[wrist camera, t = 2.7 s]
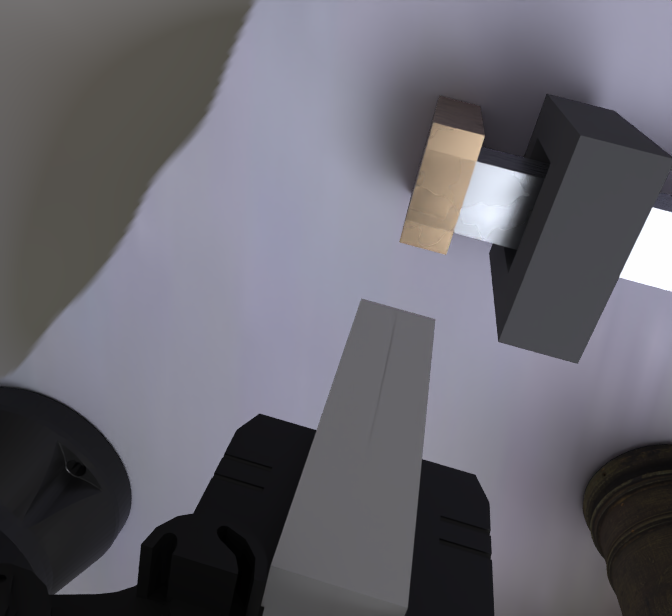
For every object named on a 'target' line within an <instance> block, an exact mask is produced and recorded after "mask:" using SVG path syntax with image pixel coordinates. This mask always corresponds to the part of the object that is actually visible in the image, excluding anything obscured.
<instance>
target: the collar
mask: <svg viewBox="0 0 672 616" xmlns="http://www.w3.org/2000/svg"><path fill="white" fill-rule="evenodd" d="M524 157H525V158H528V159H532V160H536V161H540V162H544V163H548V164H550V166H549V169H548V172H547V174H546V177H545V179H544V182H543V185H542V187H541V190H540V192H539V195H538V198H537V200H536V203H535V205H534V208H533V211H532V213H531V216H530V218H529V221H528V224H527V226H526V229H525V231H524V234H523V237H522V239H521V242H520V245H519V247H518V250H516V249H512V248H508V247H505V246H501V245H497V244H492V247H491V250H490V253H489V255H490V265H491V275H492V285H493V294H494V304H495V314H496V324H497V333H498V342H501V343H504V344H508V345H512V346H515V347H519V348H522V349H526V350H530V351H533V352H537V353H540V354H544V355H548V356H551V357H555V358H559V359H562V360H566V361H569V362H573V363H577V364H578V362H579V360H580V358H581V356H582V354H583V352H584V350H585V348H586V345H587V343H588V341H589V339H590V337H591V335H592V333H593V331H594V329H595V327H596V325H597V322H598V320H599V318H600V316H601V314H602V312H603V310H604V308H605V306H606V304H607V302H608V299H609V297H610V295H611V293H612V291H613V289H614V287H615V285H616V283H617V281H618V279H619V277H620V274H621V272H622V270H623V268H624V266H625V264H626V262H627V260H628V258H629V256H630V254H631V251H632V249H633V247H634V245H635V243H636V241H637V239H638V237H639V235H640V233H641V231H642V228H643V226H644V224H645V222H646V220H647V218H648V216H649V214H650V212H651V210H652V208H653V205H654V203H655V201H656V199H657V197H658V195H659V193H660V191H661V189H662V187H663V185H664V182H665V180H666V178H667V176H668V174H669V172H670V170H671V168H672V156H670V155H669V154H668V153H667V152H665V151H664V150H663V149H662V148H660V147H659V146H658V145H657V144H655V143H654V142H653V141H652V140H650V139H649V138H648V137H647V136H645V135H644V134H643V133H641V132H640V131H639V130H638V129H636V128H635V127H634V126H633V125H631V124H630V123H629V122H628V121H626V120H625V119H624V118H623V117H621V116H620V115H619V114H618V113H616V112H615V111H613V110H609V109H605V108H601V107H597V106H593V105H589V104H585V103H581V102H577V101H573V100H569V99H565V98H561V97H557V96H553V95H549V94H547V95H546V98H545V101H544V103H543V106H542V109H541V112H540V114H539V117H538V120H537V123H536V125H535V128H534V131H533V134H532V137H531V139H530V142H529V145H528V148H527V150H526V153H525V156H524Z"/></svg>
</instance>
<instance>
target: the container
mask: <svg viewBox="0 0 672 616" xmlns="http://www.w3.org/2000/svg"><path fill="white" fill-rule="evenodd" d="M583 512H584V517H585V520H586V523H587V526H588V528H589V530H590V531H591V536H592V539H593V542H594V544H595V546H596V548H597V550H598V551H599V553H600V554H601V556H602V557H603V558H604V559H605V561H606V564H607V576H608V579H609V582H610V585H611V587H612V588H613V590H614V592H615V594H616V595H617V599H618V602H619V605H620V608H621V611H622V615H623V616H672V445H654V446H647V447H643V448H639V449H636V450H633V451H630V452H627V453H624V454H622V455H620V456H619V457H617V458H615V459H613V460H612V461H610V462H609V463H607V464H606V465H605V466H603V467H602V468H601V469H600V470H599V471H598V472H597V473H596V474H595V475H594V476H593V477H592V479H591V480H590V482H589V484H588V486H587V488H586V491H585V495H584V501H583Z"/></svg>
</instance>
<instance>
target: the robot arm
mask: <svg viewBox="0 0 672 616" xmlns="http://www.w3.org/2000/svg"><path fill="white" fill-rule="evenodd" d="M434 327H435V319H433V318H429V317H425V316H422V315H418V314H415V313H411V312H408V311H404V310H400V309H397V308H393V307H390V306H386V305H383V304H379V303H375V302H372V301H368V300H365V299H361V301H360V304H359V307H358V310H357V313H356V316H355V319H354V322H353V325H352V328H351V331H350V334H349V337H348V340H347V342H346V345H345V348H344V351H343V354H342V357H341V360H340V363H339V366H338V369H337V372H336V375H335V378H334V381H333V384H332V387H331V390H330V393H329V395H328V398H327V401H326V404H325V407H324V410H323V413H322V416H321V419H320V422H319V425H318V428H317V430H314V429H310V428H307V427H303V426H300V425H297V424H293V423H290V422H286V421H283V420H280V419H276V418H273V417H269V416H266V415H263V414H258V415H257V416H256V417H254V418H253V419H251V420H250V421H249V422H247V423H246V424H244V425H243V426H242V427H240V428H239V429H237V431H236V432H235V434H234V436H233V438H232V440H231V442H230V444H229V446H228V448H227V450H226V452H225V454H224V457H223V458H222V459H221V461H220V463H219V465H218V467H217V469H216V471H215V473H214V476H213V478H212V479H211V480H210V482H209V484H208V486H207V488H206V490H205V492H204V494H203V496H202V498H201V500H200V502H199V504H198V505H197V507H196V509H195V511H194V513H193V514H188V515H182V516H177V517H175V518H173V519H171V520H169V521H167V522H165V523H164V524H162V525H160V526H158V527H156V528H155V529H154V531H153V532H152V533H151V534H150V535H149V536H148V537H147V538H146V540H145V541H144V542H143V543H142V544H141V551H140V562H139V573H138V583H137V585H136V586H134V587H131V588H128V589H125V590H121V591H118V592H113V593H104V594H76V595H54V594H55V593H57V592H58V591H59V590H60V589H62V588H63V587H64V586H65V585H67V584H68V583H69V582H70V581H72V580H73V579H74V578H75V577H77V576H78V575H79V574H80V573H82V572H83V571H84V570H85V569H87V568H88V567H89V566H90V565H92V564H93V563H94V562H95V561H97V560H98V559H99V558H100V557H101V556H103V555H104V554H105V552H106V551H107V550H108V549H109V548H110V547H111V545H112V544H113V542H114V540H115V539H116V537H117V536H118V534H119V533H120V531H121V529H122V528H123V526H124V525H125V523H126V521H127V519H128V516H129V513H130V509H131V489H130V484H129V480H128V477H127V474H126V471H125V469H124V467H123V465H122V463H121V461H120V459H119V457H118V456H117V454H116V453H115V451H114V450H113V448H112V447H111V446H110V444H109V443H108V442H107V441H106V440H105V438H104V437H103V436H102V435H101V434H100V433H99V432H98V431H97V430H96V429H95V428H94V427H93V426H92V425H90V424H89V423H88V422H87V421H86V420H84V419H83V418H82V417H80V416H79V415H78V414H76V413H75V412H73V411H72V410H70V409H68V408H67V407H65V406H63V405H61V404H59V403H58V402H56V401H53V400H51V399H49V398H47V397H44V396H41V395H39V394H35V393H32V392H29V391H25V390H20V389H14V388H3V387H0V616H494V597H493V575H492V560H491V554H492V552H491V536H489V535H490V531H491V529H490V506H489V501H488V499H487V497H486V495H485V493H484V491H483V489H482V487H481V485H480V483H479V481H478V479H477V477H476V475H474V474H471V473H467V472H464V471H460V470H457V469H454V468H450V467H447V466H443V465H440V464H437V463H433V462H430V461H426V460H423V459H422V453H423V443H424V432H425V422H426V411H427V401H428V390H429V380H430V369H431V359H432V348H433V338H434Z"/></svg>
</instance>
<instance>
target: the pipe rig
mask: <svg viewBox="0 0 672 616" xmlns="http://www.w3.org/2000/svg"><path fill="white" fill-rule="evenodd" d="M484 137H485V133H484V126H483V120H482V113H481V107H480V106H479V105H475V104H471V103H467V102H463V101H459V100H455V99H451V98H447V97H443V96H440V95H439V98H438V102H437V105H436V109H435V113H434V116H433V120H432V123H431V127H430V130H429V134H428V137H427V141H426V144H425V148H424V151H423V155H422V158H421V162H420V166H419V169H418V173H417V176H416V180H415V183H414V187H413V190H412V194H411V198H410V202H409V206H408V210H407V214H406V218H405V222H404V226H403V230H402V234H401V238H400V242H401V243H404V244H408V245H412V246H415V247H419V248H423V249H426V250H430V251H434V252H438V253H441V254H445V255H446V254H447V251H448V248H449V245H450V242H451V239H452V235H453V233H456V234H460V235H464V236H467V237H471V238H475V239H478V240H482V241H486V242H490V243H493V244H497V245H501V246H505V247H508V248H512V249H516V250H518V247H519V245H520V242H521V239H522V237H523V234H524V231H525V229H526V226H527V224H528V221H529V218H530V216H531V213H532V211H533V208H534V205H535V203H536V200H537V198H538V195H539V192H540V190H541V187H542V185H543V182H544V179H545V177H546V174H547V172H548V169H549V166H550V164H548V163H544V162H540V161H536V160H532V159H528V158H525V157H521V156H517V155H513V154H509V153H505V152H501V151H498V150H494V149H490V148H486V147H482V143H483V140H484ZM620 278H624V279H628V280H631V281H635V282H639V283H642V284H646V285H650V286H654V287H657V288H661V289H665V290H669V291H672V196H671V195H667V194H663V193H659V195H658V197H657V199H656V201H655V203H654V205H653V208H652V210H651V212H650V214H649V216H648V218H647V220H646V222H645V224H644V226H643V228H642V231H641V233H640V235H639V237H638V239H637V241H636V243H635V245H634V247H633V249H632V251H631V254H630V256H629V258H628V260H627V262H626V264H625V266H624V268H623V270H622V272H621V274H620Z"/></svg>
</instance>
